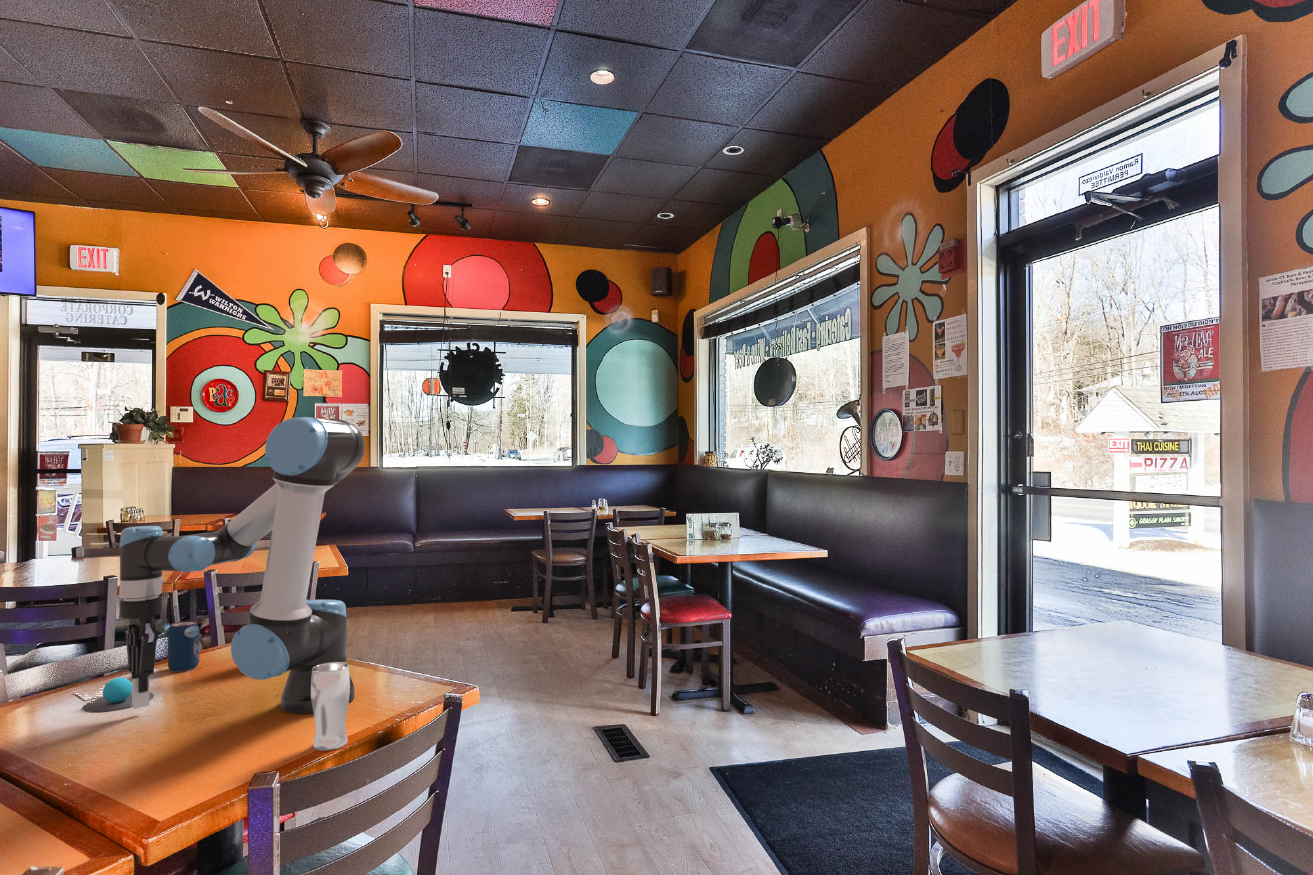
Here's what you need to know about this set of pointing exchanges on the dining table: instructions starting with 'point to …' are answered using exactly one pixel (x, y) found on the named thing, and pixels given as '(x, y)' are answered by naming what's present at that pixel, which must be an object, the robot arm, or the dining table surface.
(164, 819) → the dining table surface
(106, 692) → the ball
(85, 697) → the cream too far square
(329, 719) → the beer glass
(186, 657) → the soda can
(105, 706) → the grey flat disc
